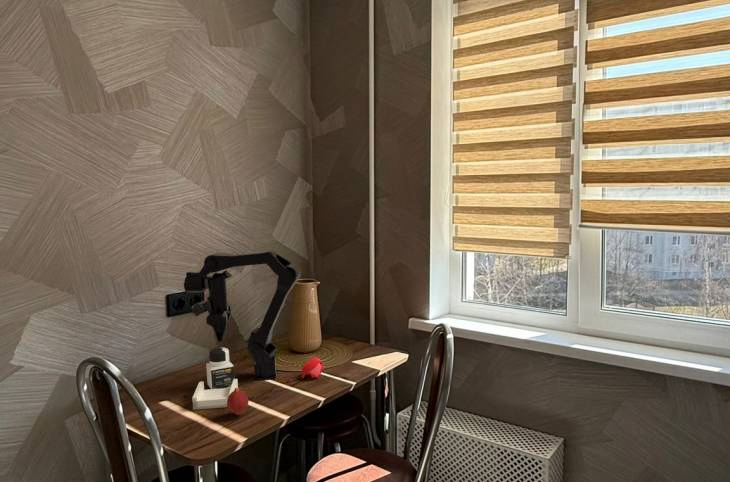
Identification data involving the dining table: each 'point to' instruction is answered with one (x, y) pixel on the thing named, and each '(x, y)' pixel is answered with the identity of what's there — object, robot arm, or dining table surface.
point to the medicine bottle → (219, 369)
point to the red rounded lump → (237, 401)
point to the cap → (312, 368)
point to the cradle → (212, 396)
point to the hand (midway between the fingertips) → (221, 338)
